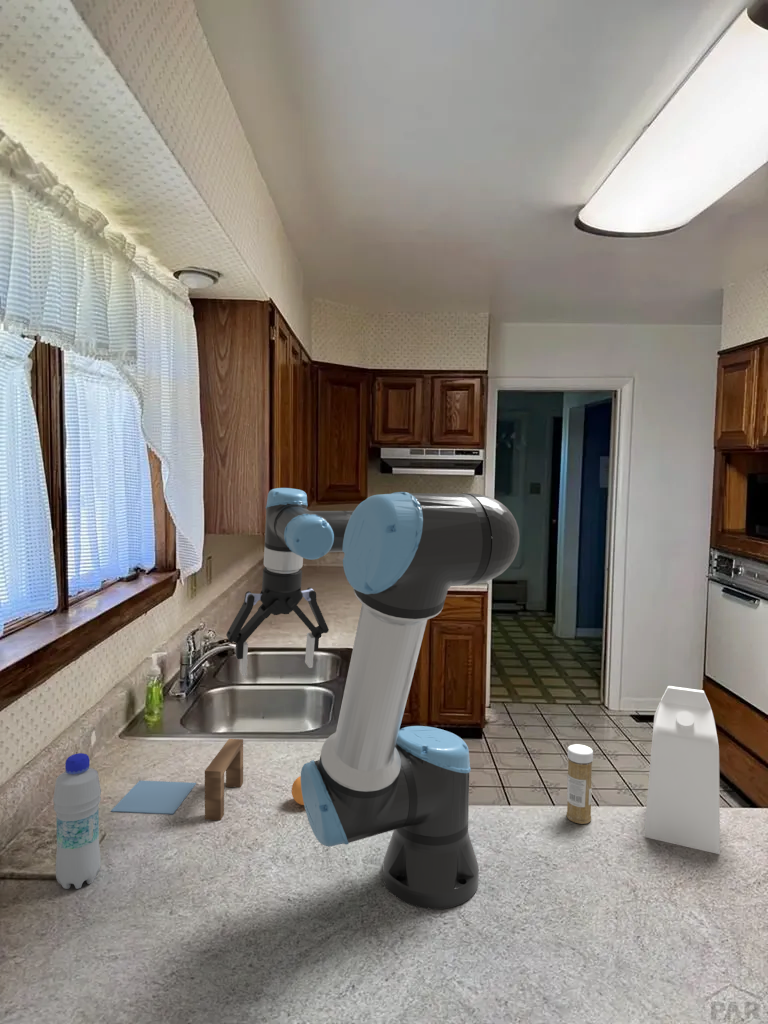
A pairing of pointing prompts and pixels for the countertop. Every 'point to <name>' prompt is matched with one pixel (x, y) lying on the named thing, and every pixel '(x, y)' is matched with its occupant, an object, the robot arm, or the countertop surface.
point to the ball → (297, 791)
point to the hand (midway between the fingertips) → (276, 669)
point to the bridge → (214, 777)
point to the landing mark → (154, 797)
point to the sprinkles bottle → (579, 783)
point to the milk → (684, 772)
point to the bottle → (77, 822)
